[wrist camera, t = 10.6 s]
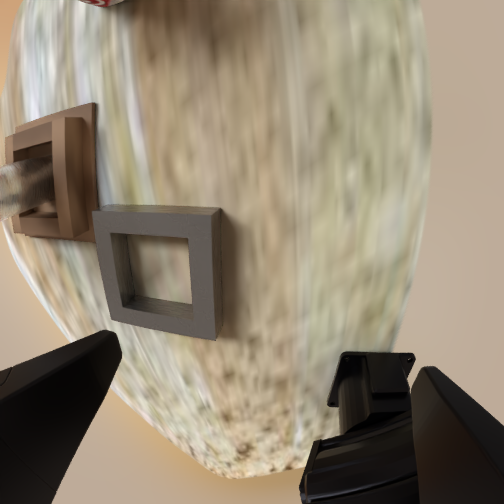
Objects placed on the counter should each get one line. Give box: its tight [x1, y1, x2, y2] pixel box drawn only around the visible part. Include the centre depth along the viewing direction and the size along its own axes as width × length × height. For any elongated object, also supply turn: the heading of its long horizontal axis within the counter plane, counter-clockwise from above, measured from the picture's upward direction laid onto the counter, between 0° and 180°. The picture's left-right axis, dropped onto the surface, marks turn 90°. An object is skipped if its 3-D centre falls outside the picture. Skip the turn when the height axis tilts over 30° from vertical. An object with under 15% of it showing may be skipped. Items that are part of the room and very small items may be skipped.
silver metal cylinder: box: [0, 155, 56, 222], centre depth 14 cm, size 4×4×11 cm
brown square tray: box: [5, 103, 99, 242], centre depth 19 cm, size 11×11×2 cm
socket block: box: [92, 205, 223, 341], centre depth 20 cm, size 9×9×2 cm
